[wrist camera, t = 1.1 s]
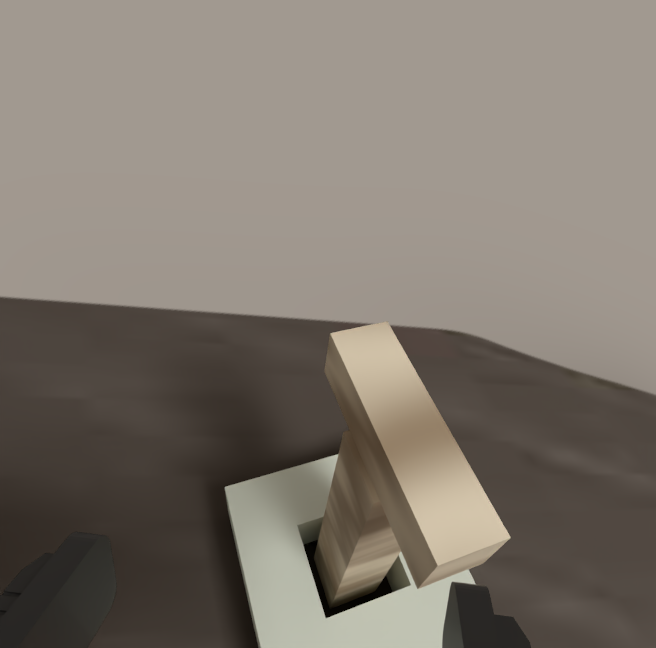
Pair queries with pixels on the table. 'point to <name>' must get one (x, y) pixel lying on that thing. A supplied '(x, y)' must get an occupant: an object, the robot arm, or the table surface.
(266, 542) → the socket block
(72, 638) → the robot arm
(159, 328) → the table surface
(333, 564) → the t key
